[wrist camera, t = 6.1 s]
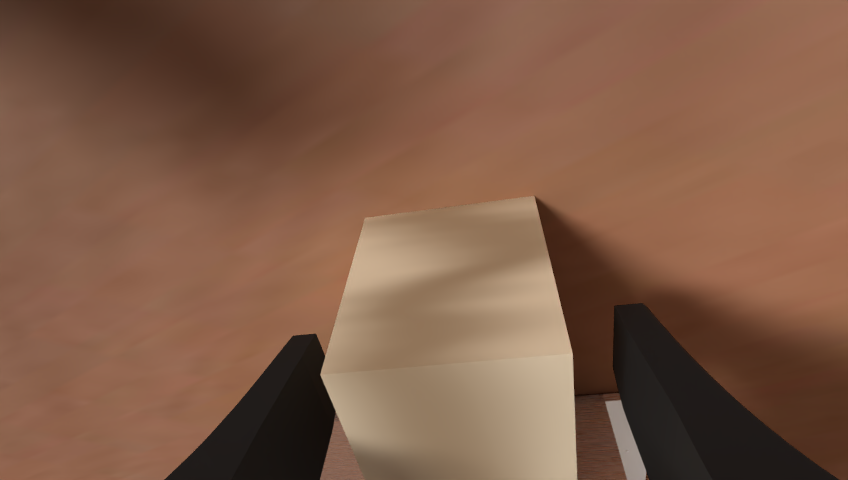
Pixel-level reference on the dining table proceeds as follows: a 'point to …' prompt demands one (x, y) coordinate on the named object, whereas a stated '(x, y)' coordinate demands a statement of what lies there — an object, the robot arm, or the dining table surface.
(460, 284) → the block
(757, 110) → the dining table surface
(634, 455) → the gauge housing
